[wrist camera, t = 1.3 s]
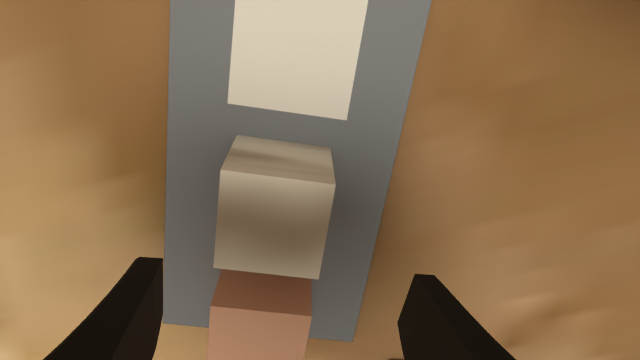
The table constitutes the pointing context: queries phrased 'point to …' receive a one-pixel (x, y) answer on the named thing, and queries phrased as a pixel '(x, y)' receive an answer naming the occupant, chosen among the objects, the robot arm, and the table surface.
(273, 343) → the block terracotta
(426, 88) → the table surface
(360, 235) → the board
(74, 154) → the table surface
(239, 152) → the block cream
